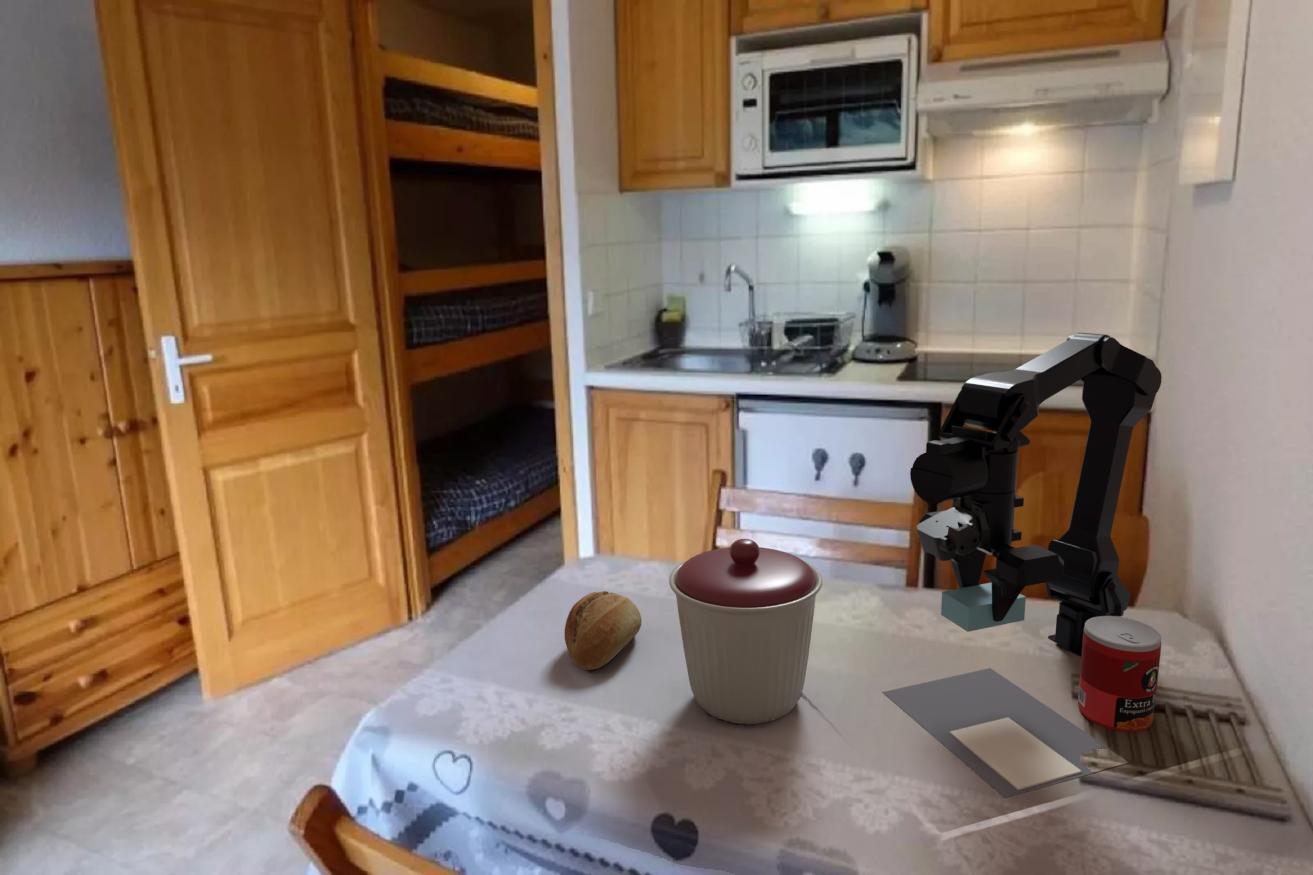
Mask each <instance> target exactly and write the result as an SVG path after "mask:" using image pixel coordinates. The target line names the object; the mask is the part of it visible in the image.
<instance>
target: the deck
mask: <svg viewBox="0 0 1313 875" xmlns="http://www.w3.org/2000/svg"><path fill="white" fill-rule="evenodd" d="M1026 600H1027V597H1026V596H1025V595H1023V594H1021V593H1020V594H1019V596H1018V597H1017V599H1016V600H1015V602H1014V603H1013V605H1012V607H1011V608H1010V610H1009V611H1008V613H1007V614H1006V616H1005V617H1004V619H1003V620H1002V621H998V622H995V621H994V620H993V614H992V582H987V583H982V584H979V585H976V586H970V587H965V588H960V589H959V588H955V589H950V590H944V591H941V608H940V610H941V611H940V615H941V616H942V617H944V618H946V619H947V620H948V621H949V622H952V623H953V624H955V625H956V626H958V627H959V628H961V629H962V630H964V631H966V632H968V633H969V632H973V631H977V630H978V631H979V630H983V629H988V628H993V627H994V628H995V627H997V626H998V627H999V626H1002V625H1003V626H1004V625H1008V624H1013V623H1017V622H1023V621H1025V612H1026Z"/></svg>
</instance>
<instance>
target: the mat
mask: <svg viewBox="0 0 1313 875" xmlns="http://www.w3.org/2000/svg"><path fill="white" fill-rule="evenodd" d="M882 693H883V694H884V696H886V698H888V699H889V700H890V701H891V702H893V703H894V704H895V705H896V706H898V707H899V709H901V710H902V711H903V712H904V713H906V714H907V716H909V717H910V718H912V720H913V721H915V722H916V723H917V724H919V726H920V727H922V728H923V729H925V731H926V732H928V733H929V734H930V735H931V736H932V737H933V738H934V739H936V740H937V741H938V742H939V743H940V744H941V745H943V747H945V748H946V749H947V750H949V752H951V753H952V754H953V755H955V757H957V759H959V760H960V761H961V762H962V763H963V764H964V765H966V766H967V767H968V768H969V769H971V771H972V772H974V773H975V774H976V775H977V776H979V778H981V779H982V780H983V781H984V782H986V784H988V785H989V786H991V787H992V789H994V790H995V791H996V792H997V793H998V794H1000V795H1001V796H1002V797H1003V798H1004V799H1007V798H1010V797H1014V796H1017V795H1021V794H1024V793H1028V792H1031V791H1034V790H1038V789H1042V788H1046V787H1050V786H1054V785H1058V784H1059V783H1060V784H1061V783H1064V782H1067V781H1071V780H1075V779H1078V778H1082V777H1085V776H1089V775H1093V774H1094V773H1092V772H1090V771H1091V770H1090V769H1088V768H1087V767H1088V766H1087V767H1086V766H1083V765H1082V764H1080V754H1081V753H1089V752H1090V751H1091V750H1092V749H1111V748H1110V747H1108V746H1107V745H1105V744H1104V743H1102V742H1101V741H1100V740H1098V739H1097V738H1095V737H1093V736H1092V735H1091V734H1089V733H1088V732H1086V731H1084V730H1083V729H1082V728H1080V727H1078V726H1077V725H1075V723H1072V722H1071V721H1070V720H1068V719H1067V718H1066V717H1064V716H1062V715H1061V714H1059V713H1058V712H1056V711H1055V710H1053V709H1052V708H1050V707H1049V706H1048V705H1046V704H1044V702H1041V701H1040V700H1039V699H1037V698H1035V696H1032V695H1031V694H1030V693H1028V692H1026V691H1025V690H1023V689H1022V688H1020V687H1019V685H1016V684H1015V683H1013V682H1011V681H1010V680H1009V679H1007V677H1004V676H1003V675H1001V674H999V673H998V672H997V671H995V669H992V668H991V667H988V668H985V669H979V670H976V671H971V672H965V673H962V674H957V675H953V676H948V677H944V678H939V679H935V680H930V681H926V682H922V683H917V684H912V685H907V686H903V687H899V688H895V689H894V688H893V689H890V690H886V691H882ZM1097 744H1098V745H1097ZM1102 744H1103V745H1102ZM1099 745H1100V746H1099ZM1104 745H1105V746H1104ZM1106 747H1107V748H1106ZM1093 751H1094V750H1093ZM1093 751H1092V752H1093ZM1098 751H1099V750H1098ZM1120 756H1121V757H1123V756H1122V755H1120Z"/></svg>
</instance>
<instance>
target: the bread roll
mask: <svg viewBox="0 0 1313 875" xmlns="http://www.w3.org/2000/svg"><path fill="white" fill-rule="evenodd" d="M642 623H643V622H642V615H641V612H640V610H639V608H638V607H637V605H636V604H635V603H634V602H633V601H632V599H630V598H629V597H627V596H624V595H621V594H618V593H615V592H609V591H606V590H605V591H593V592H589V593H588V594H586V595H585V596H583V597H582V598H580V599H579V600H578V601H577V602H575V604H573V606H572V607H571V609H570V611H569V613H568V615H567V618H566V620H565V625H564V640H565V645H566V649H567V651H568V655H569V656H570V658H571V660H572V661H573V663H575V665H577V666H578V667H579V668H581V669H583V670H587V671H590V670H596V669H600V668H601V667H603V666H605V665H606V664H608V663H609V662H610V661H611V660H612V659H614V657H616V656H617V655H619V653H620V652H621V650H622V649H624V648H625V647H626V645H628V643H630V642H631V641H632V639H633V638H635V636H636V635H638V633H639V631H640V630H641V627H642Z"/></svg>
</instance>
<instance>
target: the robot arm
mask: <svg viewBox="0 0 1313 875" xmlns="http://www.w3.org/2000/svg"><path fill="white" fill-rule="evenodd" d="M1162 378H1163V377H1162V372H1161V371H1160V369H1159V368H1158V367H1157V366H1156V364H1155V362H1154V360H1153V359H1151V358H1148V357H1147V356H1145V355H1143V354H1142V353H1140V352H1138V351H1135V350H1133V349H1131V348H1129V347H1127V346H1124V345H1123V344H1122V343H1120V342H1119V341H1118V340H1117V339H1116V338H1114V337H1112V336H1110V335H1109V334H1104V333H1103V334H1101V333H1091V332H1077V333H1073V334H1070V335H1069V336H1068V337H1067V338H1066V340H1065V341H1063V342H1062V343H1060V344H1058V345H1056V346H1054V347H1053V348H1051V349H1049V350H1048V351H1045V352H1043V353H1042V354H1041V355H1038V356H1037V357H1035V358H1033V359H1031V360H1029V361H1028V362H1026V363H1024V364H1022V365H1020V366H1019V367H1017V368H1014V369H1011V370H1006V371H998V372H988V373H984V374H981V375H977V376H973V377H972V378H969V379H968V380H966V381H965V382H964V384H963V385H962V386H961V388H960V389H961V390H960V391H959V392H958V394H957V396H956V398H955V400H954V402H953V403H952V406H951V408H950V409H949V412H948V414H947V416H946V418H945V420H944V421H943V424H942V425H941V427H940V429H939V431H938V436H937V437H938V438H941V440H930V441H927V442H926V444H925V445H926V446H925V452H923V453H921V454H919V456H917V457H916V459H915V460H914V462H913V464H912V467H910V472H909V475H910V477H909V478H910V482H911V485H912V486H911V487H912V488H913V489H914V492H915V494H916V495H917V496H918V497H919V498H920V499H921V500H922V501H924V503H925V502H926V503H927V504H930V505H938V504H941V503H945V502H948V501H952V504H951V507H950V508H949V509H945V510H940V511H939V510H938V511H932V512H926V513H925V514H924V515H923V516H922V518H921V519H920V520H919V523H918V524H917V525H916V532H917V534H918V537H919V541H920V542H919V543H921V544H920V545H921V548H922V550H923V552H924V553H927V554H931V555H932V556H934V557H935V558H936V559H937V560H939V561H941V562H948V561H950V563H951V566H952V569H953V572H954V575H955V578H956V581H957V586H958V589H960V588H965V587H970V586H976V585H980V580H981V576H982V573H983V574H984V575H985V576H986V577H987V578H988V580H989V581H990V583H992V614H993V620H994V621H995V622H998V621H1002V620H1003V619H1004V617H1005V616H1006V614H1007V613H1008V611H1009V610H1010V608H1011V607H1012V605H1013V603H1014V602H1015V600H1016V599H1017V597H1018V596H1019V594H1021V593H1022V592H1023V590H1024V589H1025V588H1026V587H1029V586H1033V585H1040V584H1045V586H1046V591H1047V592H1046V593H1047V597H1048V599H1049V598H1051V599H1055V600H1057V601H1059V603H1058V604H1059V605H1058V614H1057V615H1056V621H1055V634H1049V635H1048V636H1047V638H1048V640H1050V641H1052V642H1054V643H1055V644H1058V645H1059V646H1061V648H1064V649H1066V650H1068V651H1070V652H1071V653H1074V654H1075V655H1077V656H1078V657H1082V644H1083V634H1084V627H1085V623H1086V621H1087V620H1089V619H1091V618H1093V617H1098V616H1117V617H1124V612H1125V611H1127V609H1128V606H1129V604H1130V600H1131V592H1129V589H1127V587H1126V586H1125V585H1124V583H1123V582H1122V581H1121V579H1120V577H1119V576H1118V575H1119V566H1120V558H1119V555H1118V553H1117V549H1116V547H1115V544H1114V543H1113V540H1112V538H1111V536H1112V530H1113V526H1114V525H1113V524H1114V520H1115V514H1116V511H1117V506H1118V500H1119V496H1120V491H1121V487H1122V482H1123V477H1124V473H1125V468H1126V463H1127V457H1128V455H1129V449H1130V444H1131V439H1132V434H1133V430H1134V428H1135V426H1136V425H1138V424H1139V422H1140V421H1141V420H1142V419H1143V418H1145V417H1146V416H1147V414H1148V413H1149V412H1151V410H1152V408H1153V404H1154V402H1155V399H1156V395H1157V393H1158V392H1159V390H1160V389H1161V386H1162ZM1077 382H1080V383H1081V384H1082V394H1081V400H1082V403H1083V405H1084V408H1085V410H1086V413H1087V415H1088V417H1089V420H1090V422H1089V428H1088V432H1087V439H1086V443H1085V448H1084V454H1083V458H1082V462H1081V469H1080V472H1079V477H1078V484H1077V487H1076V493H1075V498H1074V502H1073V507H1072V513H1071V517H1070V522H1069V526H1068V529H1067V530H1066V531H1064V533H1063V534H1062V535H1061V536H1060V537H1059V538H1058V539H1057V540H1056V539H1051V541H1050V542H1049V543H1048V546H1047V549H1046V548H1044V547H1042V546H1039V545H1038V544H1031V545H1025V546H1020V547H1015V546H1012V542H1017V541H1022V533H1023V532H1022V531H1020V530H1019V529H1017V528H1014V527H1015V514H1016V513H1015V511H1016V508H1020V507H1021V508H1022V507H1024V502H1025V500H1024V499H1025V498H1024V497H1023V496H1019V495H1017V494H1016V493H1017V483H1018V482H1017V480H1018V464H1019V462H1018V461H1019V448H1022V447H1026V446H1029V445H1030V443H1031V439H1030V438H1028V436H1027V435H1025V433H1023V432H1022V430H1024V429H1025V428H1026V427H1027V426H1028V425H1029V424H1031V422H1033V421H1034V420H1035V419H1036V418H1037V417H1038V416H1039V411H1040V405H1041V404H1042V403H1043V402H1044V401H1046V400H1049V399H1050V398H1052V397H1053V396H1055V395H1057V394H1058V393H1060V392H1062V391H1063V390H1065V389H1067V388H1068V387H1070V386H1072V385H1073V384H1076V383H1077ZM965 425H966V426H967V427H966V426H965ZM971 427H973V428H971ZM977 428H978V429H977ZM987 430H988V431H987ZM987 555H988V556H992V557H994V558H996V560H995V562H996V563H995V568H991V569H984V570H983V568H984V565H985V564H984V563H985V560H986V556H987Z"/></svg>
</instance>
